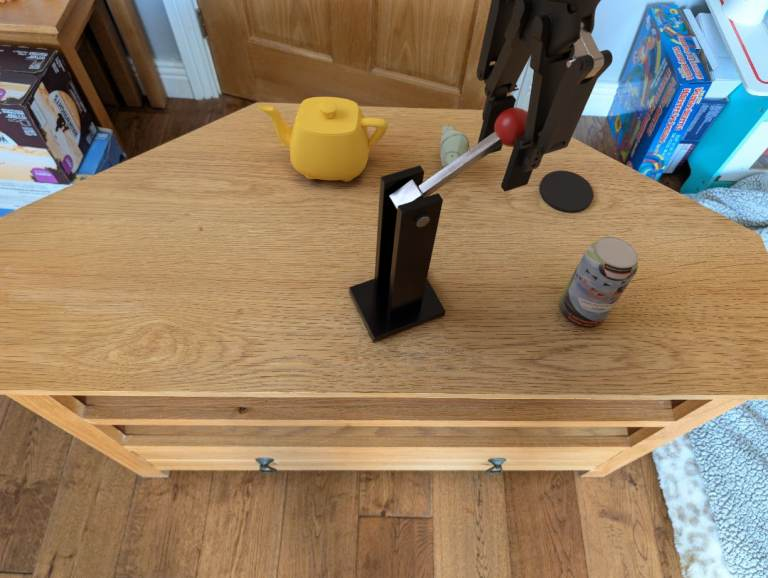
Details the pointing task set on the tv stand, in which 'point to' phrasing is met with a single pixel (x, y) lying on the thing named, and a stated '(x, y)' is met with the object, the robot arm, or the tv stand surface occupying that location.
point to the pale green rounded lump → (452, 145)
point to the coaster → (566, 191)
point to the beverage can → (598, 281)
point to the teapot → (328, 137)
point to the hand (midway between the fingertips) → (500, 167)
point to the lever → (467, 157)
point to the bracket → (401, 262)
